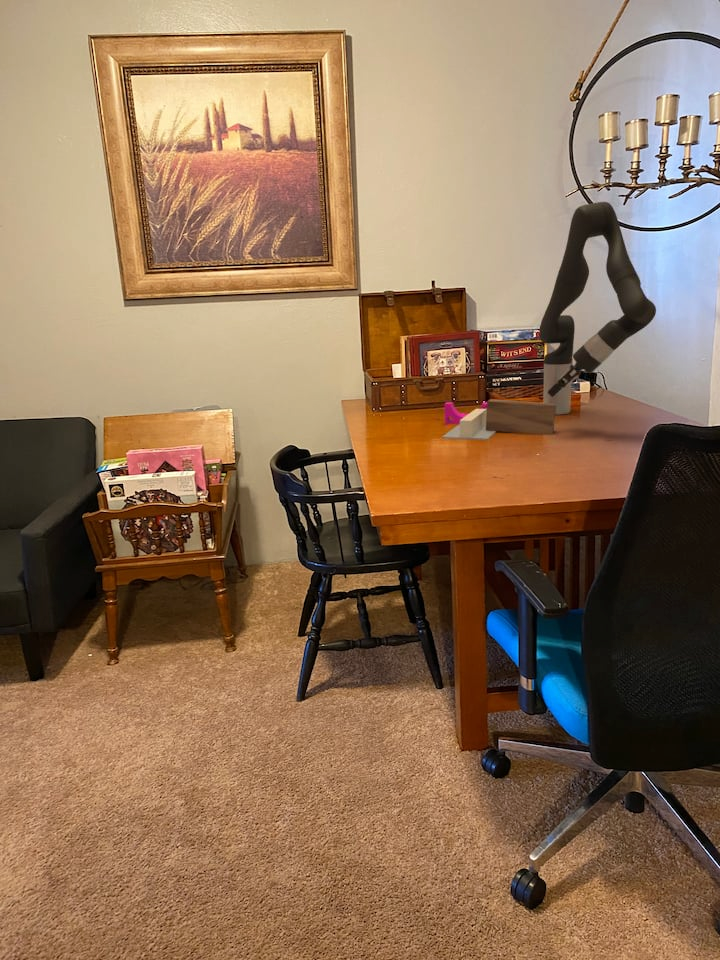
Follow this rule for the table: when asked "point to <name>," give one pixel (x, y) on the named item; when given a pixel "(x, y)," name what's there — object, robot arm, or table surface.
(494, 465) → the table surface
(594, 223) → the robot arm
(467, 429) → the fulcrum
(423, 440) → the table surface
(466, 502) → the table surface
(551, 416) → the beam
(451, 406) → the magenta curved piece
